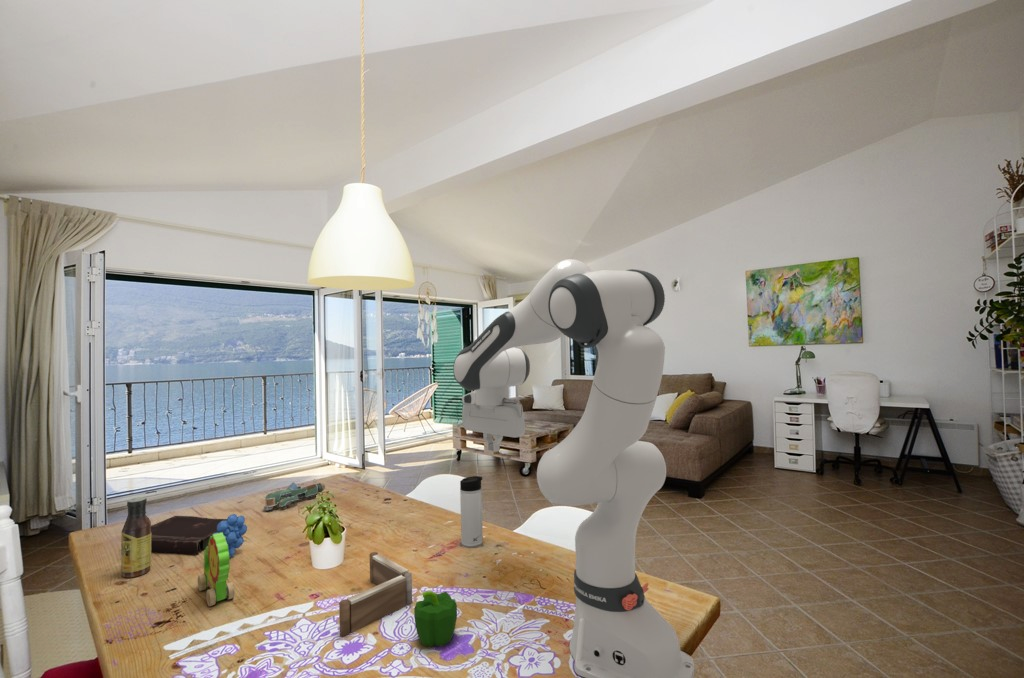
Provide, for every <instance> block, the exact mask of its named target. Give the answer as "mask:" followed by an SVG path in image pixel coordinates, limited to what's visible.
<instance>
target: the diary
mask: <svg viewBox="0 0 1024 678" xmlns="http://www.w3.org/2000/svg"><path fill="white" fill-rule="evenodd" d="M224 520H225V521H226V520H227V518H210V517H209V518H207V517H199V516H194V515H174V516H171V517H169V518H167V519H164V520H162V521H159V522H157V523H154V524H151V554H168V555H169V554H170V555H171V554H172V555H184V556H185V555H189V556H199V555H200V554H199V553H202V551H205V548H206V547H207V546H208V543H209V540H210V536H212V535H213V534H214V533H217V525H218V524H219V523H220V522H221V521H224Z"/></svg>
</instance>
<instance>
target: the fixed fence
mask: <svg viewBox="0 0 1024 678" xmlns="http://www.w3.org/2000/svg"><path fill="white" fill-rule="evenodd" d="M404 576H405V577H404ZM404 576H402V575H401V576H398V577H396V578H394V579H391V580H389V581H387V582H384V583H382V584H380V585H375V586H373V587H370V588H368V589H366V590H364V591H362V592H359V593H357V594H355V595H352V596H350V597H347V598H345V599H341V600H340V601H338V602H339V603H338V605H339V606H338V608H339V610H338V611H339V612H338V613H339V636H340V637H342V638H345V637H348V636H350V635H351V634H352V633H354V632H357V631H358V630H361V629H363V628H364V627H367V626H369V625H370V624H373V623H375V622H377V621H379V620H381V619H383V618H385V617H387V616H389V615H392V614H393V613H395V612H397V611H400V610H401V609H403V608H405V607H407V606H408V605H412V604H413V579H412V577H413V576H412V573H411V572H409V573H406V574H405V575H404Z"/></svg>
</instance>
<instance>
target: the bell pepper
mask: <svg viewBox="0 0 1024 678" xmlns="http://www.w3.org/2000/svg"><path fill="white" fill-rule="evenodd" d="M421 595H422V597H423V600H419V601H417V602H416V603H415V606H414V610H413V611H414V625H415V630H416V633H417V636H418V640H419V642H420V643H421V644H422V645H423V646H425V647H431V648H432V647H434V646H436V647H444V646H445V645H447V644H448V643H450V642H451V640H452V639H453V636H454V633H455V628H456V625H457V624H456V623H457V619H458V606H457V602H456V600H455V598H452V597H451V595H450V594H449V593H448V592H447V591H445V592H441V593H436V592H434V591H432V590H426V591H424V592H421Z"/></svg>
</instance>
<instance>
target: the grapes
mask: <svg viewBox="0 0 1024 678" xmlns="http://www.w3.org/2000/svg"><path fill="white" fill-rule="evenodd" d="M226 519H227V520H226V521H225V520H224V521H221V522H220V523H219V524H218V525H217V533H221V532H222V533H223V535H224V536H225V538H226V542H227V544H228V552H229V557H230V559H231V558H233V557H234V555H235V553H236V549H239V548H240V547H242V546H243V544H244V541H245V540H244V537H243V536H244V535H245V534H246V533H247V531H248V526H247V525H246V524H245V521H246V518H245V516H244V515H239V516H238V515H237V514H235V513H232V514H230V515H229V516H228V517H227V518H226ZM217 533H214V534H217Z"/></svg>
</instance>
